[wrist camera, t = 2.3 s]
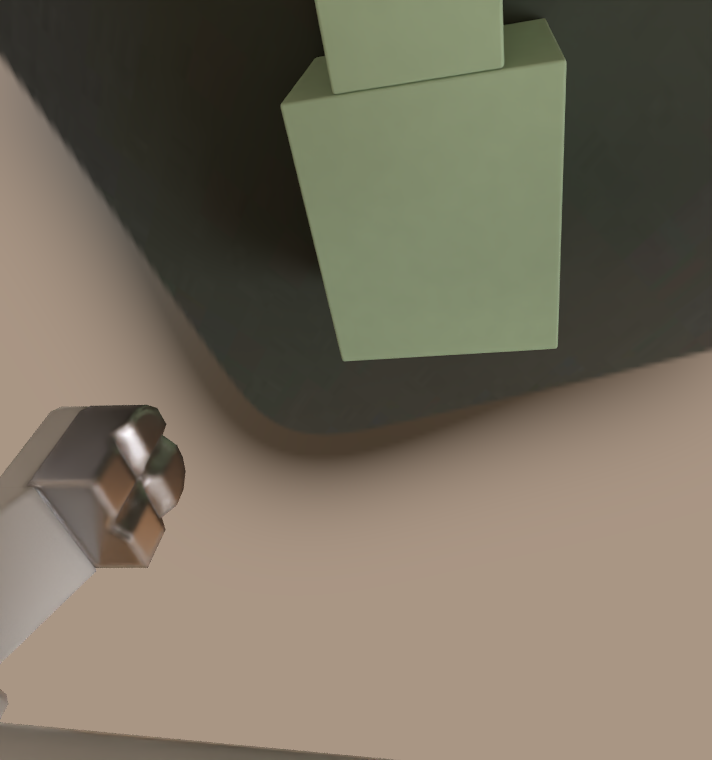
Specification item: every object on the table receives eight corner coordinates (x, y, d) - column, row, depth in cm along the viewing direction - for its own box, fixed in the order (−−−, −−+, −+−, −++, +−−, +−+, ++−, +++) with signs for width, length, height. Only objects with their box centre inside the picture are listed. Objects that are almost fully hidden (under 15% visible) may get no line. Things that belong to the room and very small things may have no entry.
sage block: (360, 286, 18) (341, 362, 15) (288, -73, 12) (240, -54, 10) (543, 270, 16) (557, 349, 14) (547, -131, 11) (573, -127, 9)
